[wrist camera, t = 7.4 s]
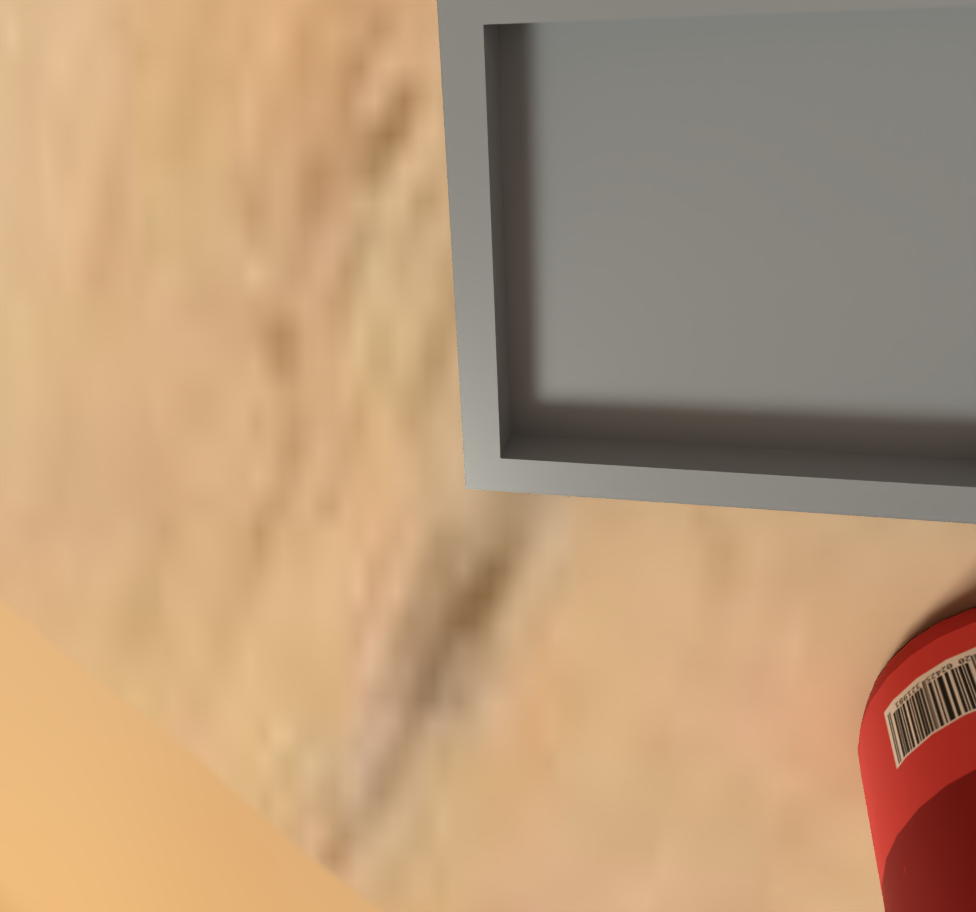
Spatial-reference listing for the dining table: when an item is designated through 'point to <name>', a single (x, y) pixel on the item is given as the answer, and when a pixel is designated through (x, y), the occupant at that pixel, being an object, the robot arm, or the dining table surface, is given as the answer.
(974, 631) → the canned food
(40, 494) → the dining table surface
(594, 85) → the tray
